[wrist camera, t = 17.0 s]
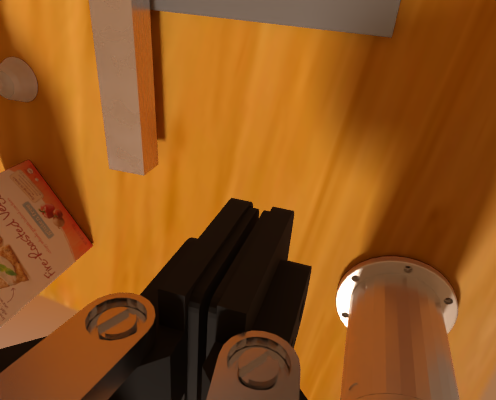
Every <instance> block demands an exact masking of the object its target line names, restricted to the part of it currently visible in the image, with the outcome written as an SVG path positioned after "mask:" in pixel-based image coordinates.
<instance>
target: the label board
mask: <svg viewBox="0 0 496 400" xmlns="http://www.w3.org/2000/svg"><path fill="white" fill-rule="evenodd" d="M400 1H401V0H149V3H150V10H158V11H167V12H175V13H184V14H193V15H201V16H210V17H219V18H227V19H236V20H245V21H253V22H262V23H271V24H279V25H288V26H297V27H305V28H314V29H322V30H331V31H340V32H348V33H357V34H366V35H374V36H383V37H392V34H393V30H394V26H395V22H396V18H397V13H398V9H399V5H400Z"/></svg>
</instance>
